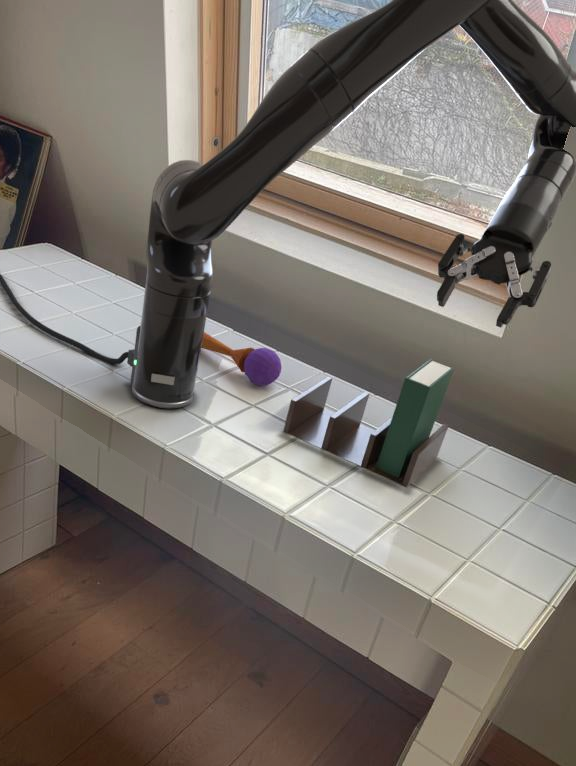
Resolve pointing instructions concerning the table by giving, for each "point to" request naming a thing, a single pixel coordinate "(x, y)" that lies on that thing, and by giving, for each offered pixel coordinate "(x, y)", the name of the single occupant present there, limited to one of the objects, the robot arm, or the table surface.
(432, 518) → the table surface
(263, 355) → the kendama
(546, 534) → the table surface
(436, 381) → the book
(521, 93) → the robot arm
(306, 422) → the rack
